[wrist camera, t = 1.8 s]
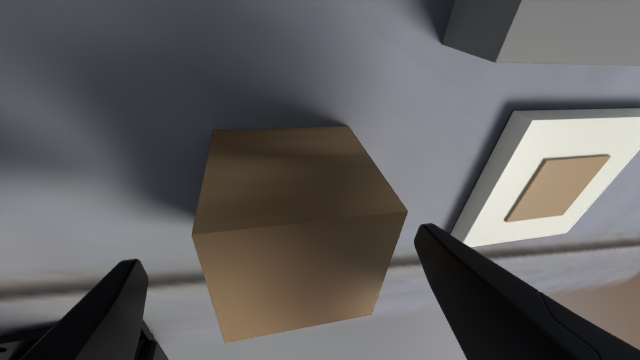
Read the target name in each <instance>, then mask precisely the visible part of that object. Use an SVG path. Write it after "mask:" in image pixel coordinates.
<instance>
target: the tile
mask: <svg viewBox="0 0 640 360" xmlns="http://www.w3.org/2000/svg"><path fill="white" fill-rule="evenodd" d="M639 150H640V108H622V109H577V110H532V111H513V113H512V115H511V117H510V119H509V121H508V123H507V125H506V127H505V129H504V131H503V132H502V134H501V136H500V138H499V140H498V142H497V144H496V146H495V148H494V150H493V152H492V154H491V156H490V158H489V160H488V162H487V164H486V166H485V168H484V170H483V171H482V173H481V175H480V177H479V179H478V181H477V183H476V185H475V187H474V189H473V191H472V193H471V195H470V197H469V199H468V201H467V203H466V205H465V207H464V209H463V211H462V212H461V214H460V216H459V218H458V220H457V222H456V224H455V226H454V228H453V230H452V232H451V234H450V235H452V236H453V237H455V238H456V239H458V240H460V241H461V242H463V243H464V244H466V245H467V246H469V247H475V246H482V245H489V244H495V243H502V242H509V241H516V240H523V239H529V238H536V237H543V236H550V235H557V234H563V233H567V232H568V231H569V230H570V229H571V227H572V226H573V225H574V224H575V223H576V222H577V221H578V219H579V218H580V217H581V216H582V215H583V214H584V213H585V211H586V210H587V209H588V208H589V207H590V206H591V205H592V203H593V202H594V201H595V200H596V199H597V198H598V197H599V195H600V194H601V193H602V192H603V191H604V190H605V189H606V187H607V186H608V185H609V184H610V183H611V182H612V181H613V179H614V178H615V177H616V176H617V175H618V174H619V173H620V172H621V170H622V169H623V168H624V167H625V166H626V165H627V164H628V162H629V161H630V160H631V159H632V158H633V157H634V156H635V154H636V153H637V152H638V151H639Z"/></svg>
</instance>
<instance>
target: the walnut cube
mask: <svg viewBox="0 0 640 360" xmlns="http://www.w3.org/2000/svg"><path fill="white" fill-rule="evenodd" d="M407 213H408V211H407V209H406V208H405V206H404V205H403V203H402V202H401V201H400V199H399V198H398V196H397V195H396V193H395V192H394V191H393V189H392V188H391V186H390V185H389V183H388V182H387V180H386V179H385V178H384V176H383V175H382V173H381V172H380V170H379V169H378V168H377V166H376V165H375V163H374V162H373V160H372V159H371V157H370V156H369V155H368V153H367V152H366V150H365V149H364V147H363V146H362V145H361V143H360V142H359V140H358V139H357V137H356V136H355V135H354V133H353V132H352V130H351V129H350V127H349V126H341V127H308V128H275V129H242V130H213V134H212V139H211V144H210V149H209V154H208V158H207V163H206V168H205V173H204V178H203V182H202V187H201V192H200V197H199V201H198V206H197V211H196V216H195V221H194V225H193V230H192V238H193V241H194V244H195V248H196V251H197V254H198V258H199V261H200V264H201V267H202V271H203V274H204V277H205V280H206V284H207V287H208V290H209V294H210V297H211V300H212V303H213V307H214V310H215V313H216V316H217V320H218V323H219V326H220V330H221V333H222V336H223V339H224V343H227V342H233V341H238V340H243V339H248V338H253V337H258V336H264V335H269V334H274V333H279V332H284V331H289V330H295V329H300V328H305V327H310V326H315V325H321V324H326V323H331V322H336V321H341V320H346V319H352V318H357V317H362V316H367V315H372V312H373V309H374V306H375V303H376V300H377V298H378V295H379V292H380V289H381V286H382V283H383V281H384V278H385V275H386V272H387V269H388V266H389V264H390V261H391V258H392V255H393V252H394V249H395V247H396V244H397V241H398V238H399V235H400V233H401V230H402V227H403V224H404V221H405V218H406V216H407Z"/></svg>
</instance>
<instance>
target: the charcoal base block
mask: <svg viewBox="0 0 640 360" xmlns="http://www.w3.org/2000/svg"><path fill="white" fill-rule="evenodd" d="M442 45H445V46H448V47H451V48H454V49H457V50H460V51H463V52H466V53H469V54H472V55H474V56H477V57H480V58H483V59H486V60H489V61H492V62H495V63H533V64H577V65H621V66H640V0H455V2H454V5H453V9H452V12H451V15H450V19H449V22H448V25H447V29H446V32H445V35H444V39H443V42H442Z"/></svg>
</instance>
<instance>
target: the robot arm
mask: <svg viewBox="0 0 640 360" xmlns="http://www.w3.org/2000/svg"><path fill="white" fill-rule="evenodd" d="M414 245H415V248H416V251H417V254H418V256H419V259H420V261H421V264H422V267H423V269H424V272H425V274H426V277H427V280H428V282H429V284H430V287H431V289H432V291H433V293H434V295H435V297H436V299H437V301H438V303H439V305H440V307H441V309H442V311H443V313H444V315H445V317H446V319H447V321H448V323H449V325H450V326H451V329H452V331H453V332H454V334H455V336H456V339H457V340H458V342H459V344H460V346H461V348H462V350H463V352H464V354H465V356H466V358H467V360H640V350H638V349H637V348H635V347H633V346H631V345H630V344H628V343H626V342H624V341H623V340H621V339H619V338H617V337H616V336H614V335H612V334H610V333H608V332H607V331H605V330H603V329H601V328H600V327H598V326H596V325H594V324H593V323H591V322H589V321H587V320H585V319H584V318H582V317H581V316H579V315H577V314H575V313H573V312H572V311H570V310H569V309H567V308H566V307H564V306H562V305H560V304H559V303H557V302H556V301H554V300H553V299H551V298H549V297H548V296H546V295H545V294H543V293H542V292H539V291H538V290H537V289H535V288H534V287H532V286H530V285H529V284H527V283H526V282H524V281H523V280H521V279H519V278H518V277H516V276H515V275H513V274H512V273H510V272H508V271H507V270H505V269H504V268H502V267H501V266H499V265H497V264H496V263H494V262H493V261H491V260H490V259H488V258H486V257H485V256H483V255H482V254H480V253H478V252H477V251H475V250H474V249H472V248H471V247H469V246H467V245H466V244H464V243H463V242H461V241H460V240H458V239H456V238H455V237H453V236H452V235H450V234H449V233H447V232H445V231H444V230H442V229H441V228H439V227H438V226H436V225H434V224H432V223H428V224H422V225H420V227H419V229H418V231H417V234H416V236H415V239H414ZM147 287H148V276H147V273H146V271H145V269H144V268H143V266H142V264H141V262H140V260H138V259H130V260H123V261H121V262H119V263H118V264H117V265H116V266H115V267H114V268H113V269H112V270H111V271H110V272H109V273H108V274H107V275H106V276H105V277H104V278H103V279H102V280H101V281H100V282H99V283H98V284H97V285H96V286H95V287H94V288H93V289H92V290H91V291H89V292H88V293H87V294H86V295H85V296H84V297H83V298H82V299H81V300H80V301H79V302H78V303H77V304H76V305H75V306H74V307H73V308H72V309H71V310H70V311H69V312H68V313H67V314H66V315H65V316H64V317H63V318H62V319H61V320H60V321H59V322H58V323H57V324H56V325H55V326H54V327H53V328H49V329H42V330H36V331H30V332H24V333H17V334H11V335H5V336H0V360H168V358H167V356H166V355H165V353H164V352H163V350H162V348H161V347H160V345H159V344H158V342H157V341H156V340H155V338H154V336H153V335H152V333H151V332H150V330H149V329H148V327H147V325H146V324H145V322H144V321H143V313H144V306H145V300H146V294H147Z"/></svg>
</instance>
